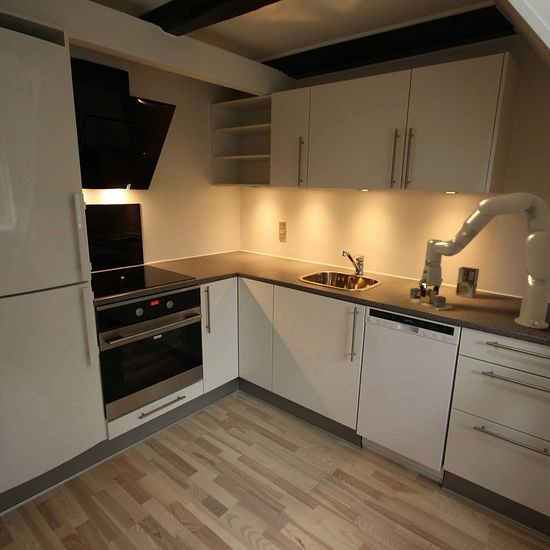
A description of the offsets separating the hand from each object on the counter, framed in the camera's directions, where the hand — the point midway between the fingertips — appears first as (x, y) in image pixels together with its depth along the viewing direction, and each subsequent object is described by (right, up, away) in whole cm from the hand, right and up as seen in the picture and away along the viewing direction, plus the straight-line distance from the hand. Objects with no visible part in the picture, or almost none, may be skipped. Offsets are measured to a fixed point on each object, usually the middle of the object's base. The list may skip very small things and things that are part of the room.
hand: (429, 295), depth 192 cm
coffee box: (+29, -1, +19) cm, 35 cm away
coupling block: (0, -3, +1) cm, 3 cm away
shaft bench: (0, -4, +1) cm, 4 cm away
